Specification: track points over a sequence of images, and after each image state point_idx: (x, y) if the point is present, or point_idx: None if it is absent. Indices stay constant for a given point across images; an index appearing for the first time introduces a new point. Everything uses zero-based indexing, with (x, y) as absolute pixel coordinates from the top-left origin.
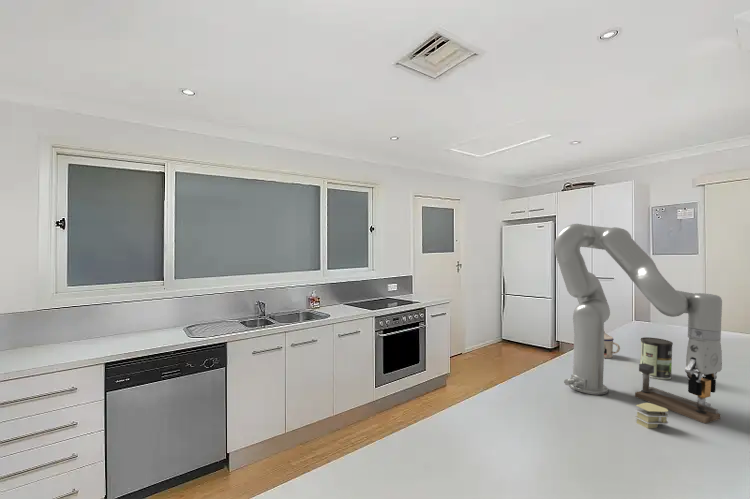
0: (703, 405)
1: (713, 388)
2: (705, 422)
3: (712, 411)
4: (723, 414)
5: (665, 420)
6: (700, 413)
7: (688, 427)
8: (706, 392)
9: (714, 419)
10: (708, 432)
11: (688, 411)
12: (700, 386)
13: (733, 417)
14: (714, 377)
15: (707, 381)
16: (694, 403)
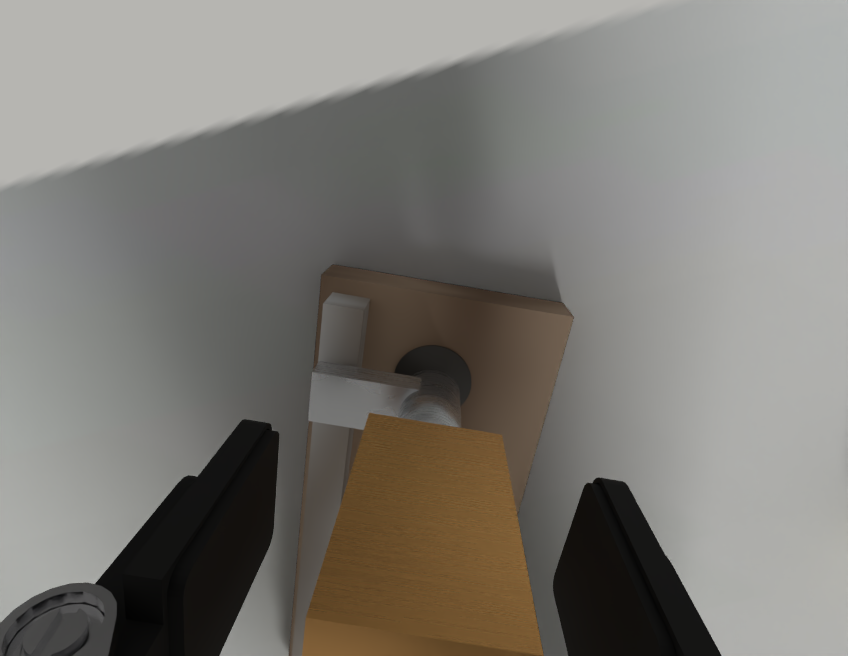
0: (450, 396)
1: (256, 464)
2: (557, 304)
3: (363, 325)
4: (195, 279)
5: None
6: (480, 372)
7: (770, 348)
8: (465, 472)
9: (420, 282)
10: (754, 231)
11: (524, 436)
12: (685, 604)
13: (181, 212)
14: (104, 639)
15: (454, 632)
16: (347, 459)
